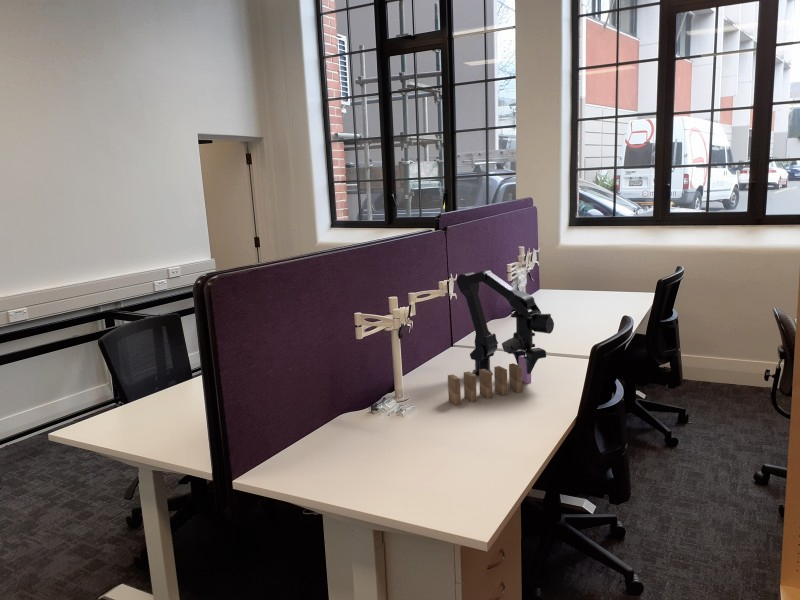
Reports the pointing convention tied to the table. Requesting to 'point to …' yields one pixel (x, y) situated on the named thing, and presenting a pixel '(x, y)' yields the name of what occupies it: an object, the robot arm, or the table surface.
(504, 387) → the walnut domino
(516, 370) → the walnut domino
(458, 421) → the table surface
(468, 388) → the walnut domino
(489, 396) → the walnut domino
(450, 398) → the walnut domino
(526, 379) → the plum domino
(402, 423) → the table surface
